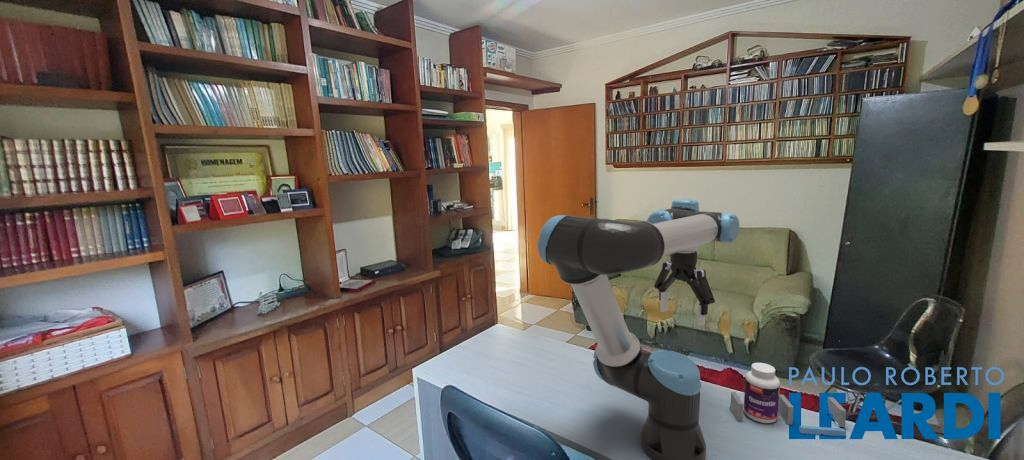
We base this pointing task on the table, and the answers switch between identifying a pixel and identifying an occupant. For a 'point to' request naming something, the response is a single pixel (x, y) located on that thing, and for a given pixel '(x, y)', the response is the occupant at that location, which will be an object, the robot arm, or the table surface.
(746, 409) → the pill bottle
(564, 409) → the table surface
